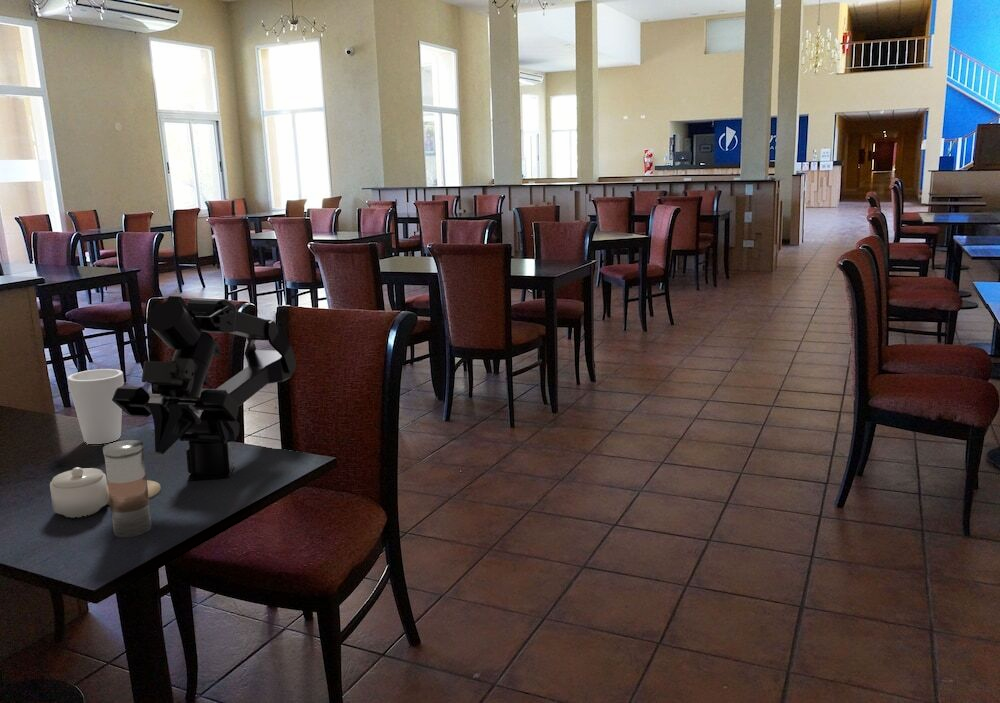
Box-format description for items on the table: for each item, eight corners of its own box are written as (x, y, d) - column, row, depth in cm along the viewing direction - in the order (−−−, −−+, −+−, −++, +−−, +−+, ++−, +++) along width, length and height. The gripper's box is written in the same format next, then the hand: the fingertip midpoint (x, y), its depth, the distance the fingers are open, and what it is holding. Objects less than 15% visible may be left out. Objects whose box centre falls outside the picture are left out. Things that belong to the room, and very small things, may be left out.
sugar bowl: (115, 499, 127) (110, 457, 126) (100, 519, 120) (95, 475, 118) (64, 502, 126) (58, 460, 124) (46, 522, 118) (40, 478, 117)
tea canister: (156, 520, 119) (147, 439, 116) (147, 536, 114) (137, 450, 111) (118, 523, 118) (109, 441, 115) (108, 539, 113) (97, 453, 110)
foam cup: (93, 451, 149) (85, 383, 146) (65, 442, 154) (57, 376, 151) (139, 437, 157) (132, 372, 154) (111, 429, 162) (104, 366, 159)
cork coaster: (167, 479, 135) (166, 478, 135) (152, 503, 125) (152, 501, 125) (103, 483, 133) (103, 481, 133) (84, 507, 124) (83, 506, 124)
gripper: (111, 336, 125) (73, 426, 117) (223, 340, 122) (192, 432, 114) (146, 372, 134) (113, 457, 126) (251, 376, 131) (224, 464, 123)
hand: (158, 452), depth 122 cm, fingers closed
